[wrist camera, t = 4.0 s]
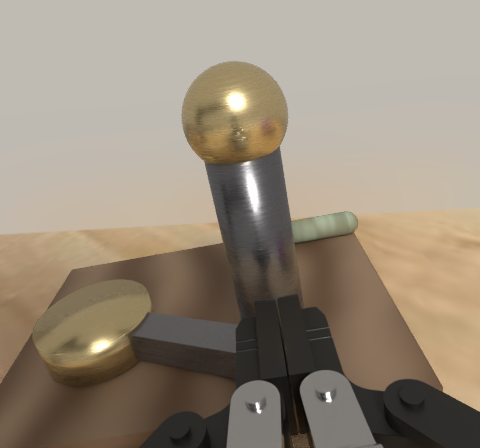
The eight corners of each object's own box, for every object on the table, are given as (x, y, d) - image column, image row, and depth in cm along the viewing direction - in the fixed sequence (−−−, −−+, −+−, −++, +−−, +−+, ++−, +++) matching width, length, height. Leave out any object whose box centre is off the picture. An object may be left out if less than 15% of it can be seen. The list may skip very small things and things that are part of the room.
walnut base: (-34, 480, 22) (-66, 436, 21) (78, 284, 38) (64, 252, 37) (450, 408, 21) (452, 356, 19) (353, 236, 37) (350, 200, 35)
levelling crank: (22, 374, 26) (-113, 124, 20) (98, 303, 32) (13, 89, 25) (303, 445, 18) (234, 73, 12) (338, 335, 24) (305, 40, 17)
